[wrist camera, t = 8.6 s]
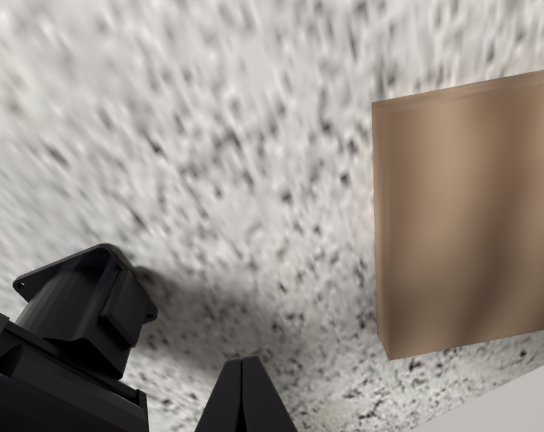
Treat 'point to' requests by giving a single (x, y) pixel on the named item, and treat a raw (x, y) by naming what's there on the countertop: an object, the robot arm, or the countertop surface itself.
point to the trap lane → (459, 214)
